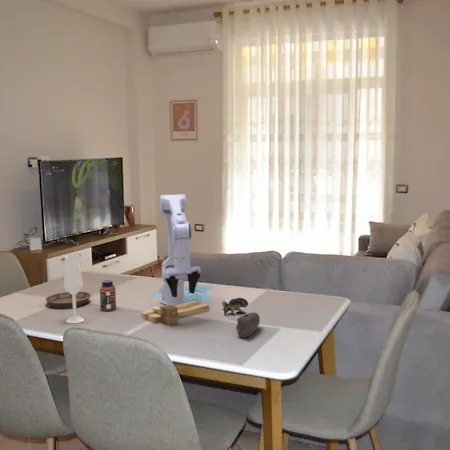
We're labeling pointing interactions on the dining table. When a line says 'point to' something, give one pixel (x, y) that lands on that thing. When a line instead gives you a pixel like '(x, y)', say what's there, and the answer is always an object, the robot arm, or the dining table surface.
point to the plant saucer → (67, 299)
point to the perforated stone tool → (247, 324)
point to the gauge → (167, 314)
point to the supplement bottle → (107, 296)
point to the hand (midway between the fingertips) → (183, 294)
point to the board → (183, 311)
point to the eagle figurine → (234, 305)
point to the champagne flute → (73, 282)
